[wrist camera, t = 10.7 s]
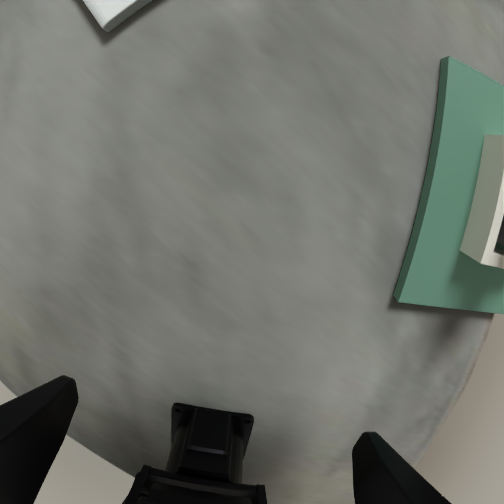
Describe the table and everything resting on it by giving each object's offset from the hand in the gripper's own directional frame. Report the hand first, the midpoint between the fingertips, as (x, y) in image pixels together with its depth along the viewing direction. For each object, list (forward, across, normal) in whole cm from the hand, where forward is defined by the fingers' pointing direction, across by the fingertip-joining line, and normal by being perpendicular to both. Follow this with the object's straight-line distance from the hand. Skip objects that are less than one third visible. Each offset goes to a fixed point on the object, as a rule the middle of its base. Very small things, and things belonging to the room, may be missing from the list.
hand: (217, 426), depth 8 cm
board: (+12, -16, -9) cm, 22 cm away
